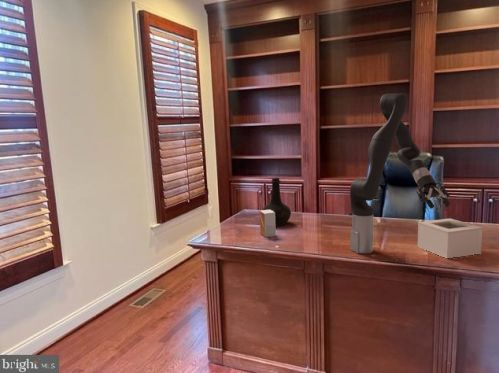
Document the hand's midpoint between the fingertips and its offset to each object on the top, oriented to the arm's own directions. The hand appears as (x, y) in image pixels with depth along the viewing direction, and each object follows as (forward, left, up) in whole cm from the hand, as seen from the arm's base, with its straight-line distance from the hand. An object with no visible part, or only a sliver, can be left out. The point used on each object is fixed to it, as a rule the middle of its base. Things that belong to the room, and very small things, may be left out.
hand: (440, 206), depth 175 cm
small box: (-67, +50, -19) cm, 86 cm away
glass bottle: (-55, +70, -19) cm, 91 cm away
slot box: (0, -6, -19) cm, 20 cm away
